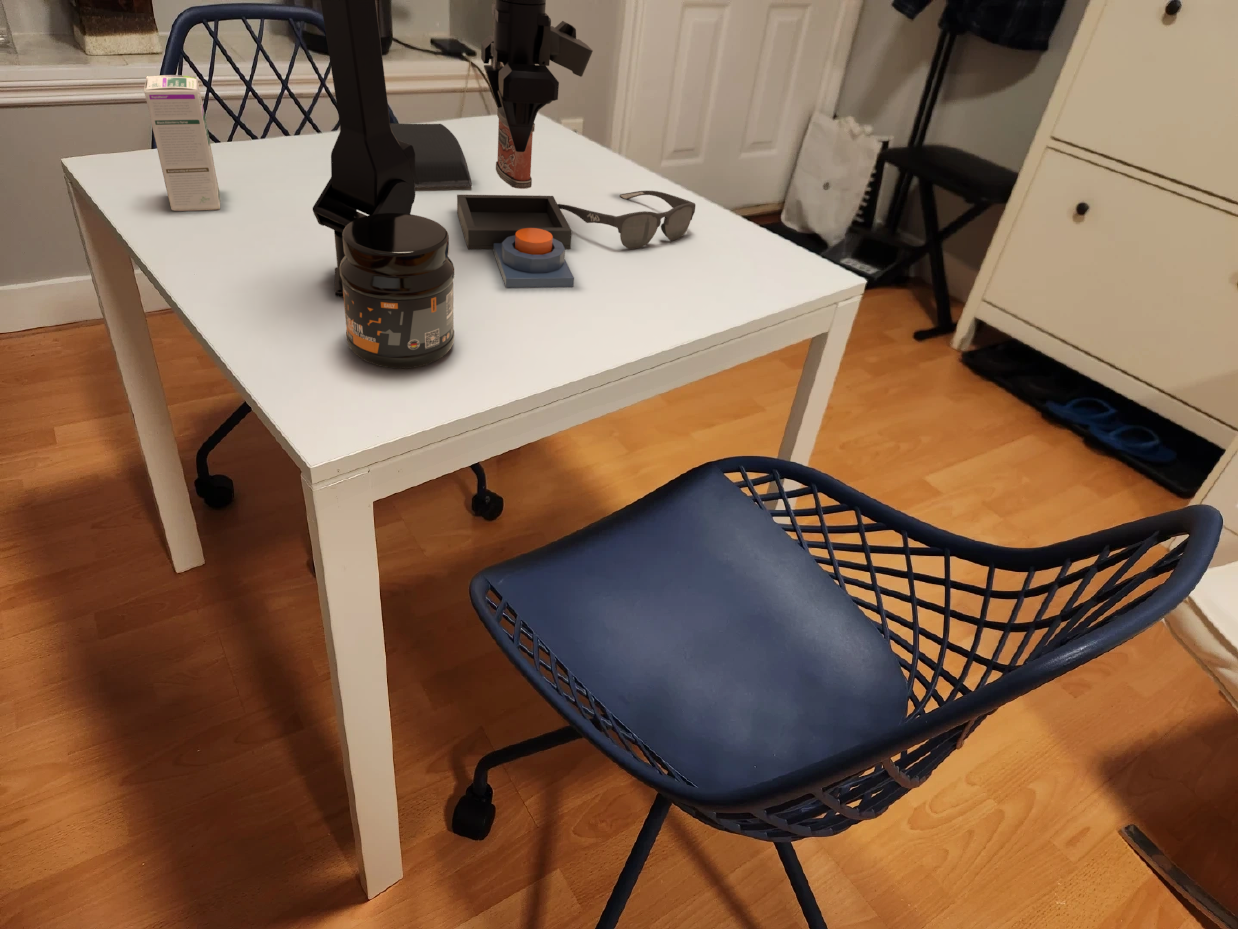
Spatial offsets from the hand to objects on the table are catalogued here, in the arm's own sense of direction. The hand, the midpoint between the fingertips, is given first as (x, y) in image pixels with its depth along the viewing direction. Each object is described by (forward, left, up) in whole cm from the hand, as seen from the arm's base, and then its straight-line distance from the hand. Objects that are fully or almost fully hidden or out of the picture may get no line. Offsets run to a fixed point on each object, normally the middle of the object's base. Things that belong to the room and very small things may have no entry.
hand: (514, 141), depth 106 cm
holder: (0, 0, -11) cm, 11 cm away
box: (-12, -1, -11) cm, 17 cm away
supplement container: (-30, +16, -12) cm, 36 cm away
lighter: (0, 0, -5) cm, 5 cm away
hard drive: (+23, +10, -12) cm, 28 cm away
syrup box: (+8, +39, -12) cm, 42 cm away
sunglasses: (+2, -16, -12) cm, 20 cm away
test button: (-12, -1, -9) cm, 15 cm away
